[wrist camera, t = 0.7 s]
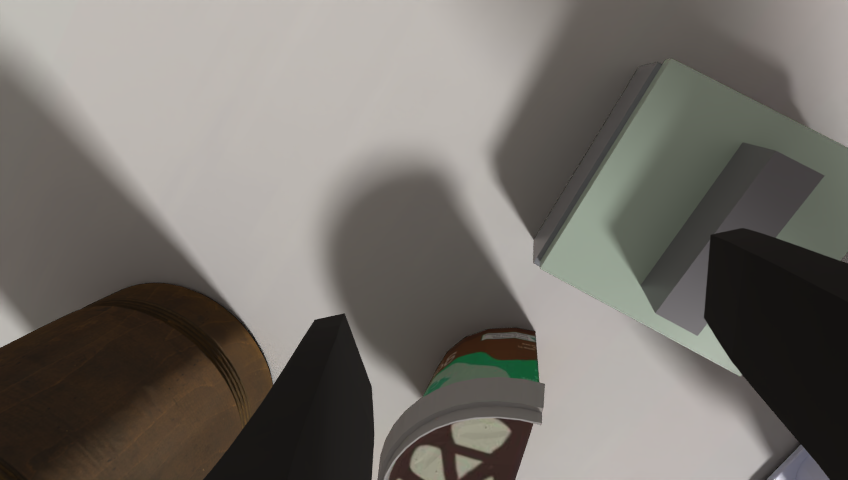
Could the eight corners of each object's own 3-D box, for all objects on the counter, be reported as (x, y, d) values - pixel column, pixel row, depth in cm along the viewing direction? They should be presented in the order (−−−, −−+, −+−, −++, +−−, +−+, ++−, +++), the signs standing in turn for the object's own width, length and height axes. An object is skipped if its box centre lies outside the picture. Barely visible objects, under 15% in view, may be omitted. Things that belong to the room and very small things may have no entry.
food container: (438, 279, 30) (393, 366, 21) (542, 308, 29) (545, 412, 20) (398, 449, 34) (345, 587, 24) (489, 478, 33) (471, 633, 24)
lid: (880, 172, 21) (973, 194, 17) (726, 357, 25) (769, 417, 20) (661, 60, 22) (693, 52, 17) (539, 256, 25) (540, 292, 21)
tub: (830, 164, 24) (883, 177, 20) (699, 329, 28) (724, 366, 24) (639, 66, 25) (657, 62, 21) (533, 240, 28) (533, 263, 24)
